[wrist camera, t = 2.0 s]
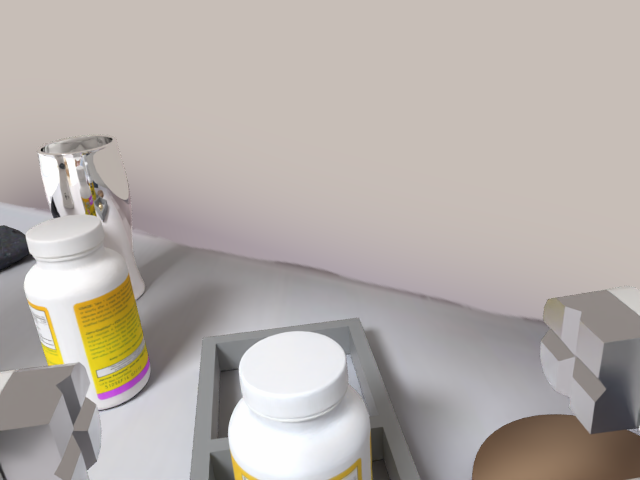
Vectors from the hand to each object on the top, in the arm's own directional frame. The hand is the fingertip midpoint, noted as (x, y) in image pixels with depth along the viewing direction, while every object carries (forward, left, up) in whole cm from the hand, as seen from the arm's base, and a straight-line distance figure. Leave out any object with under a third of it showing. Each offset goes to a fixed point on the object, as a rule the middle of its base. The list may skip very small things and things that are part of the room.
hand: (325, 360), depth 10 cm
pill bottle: (-10, +7, -20) cm, 24 cm away
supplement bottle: (-31, +6, -20) cm, 38 cm away
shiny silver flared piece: (-44, +13, -20) cm, 50 cm away
